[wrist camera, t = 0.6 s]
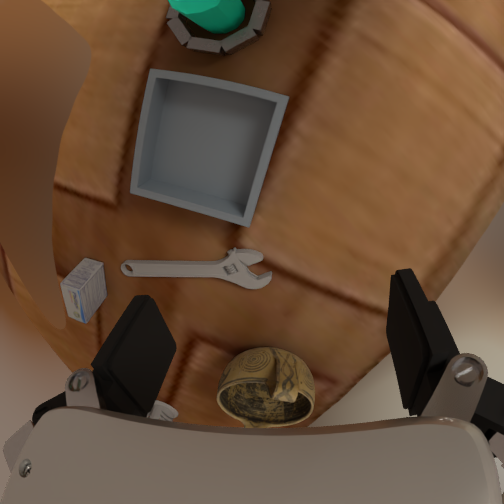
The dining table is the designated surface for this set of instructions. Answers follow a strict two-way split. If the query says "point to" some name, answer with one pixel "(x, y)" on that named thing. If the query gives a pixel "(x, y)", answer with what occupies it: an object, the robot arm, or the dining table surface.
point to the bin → (205, 143)
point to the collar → (227, 44)
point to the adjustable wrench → (205, 268)
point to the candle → (212, 13)
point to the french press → (162, 412)
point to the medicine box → (84, 289)
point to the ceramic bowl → (267, 388)
